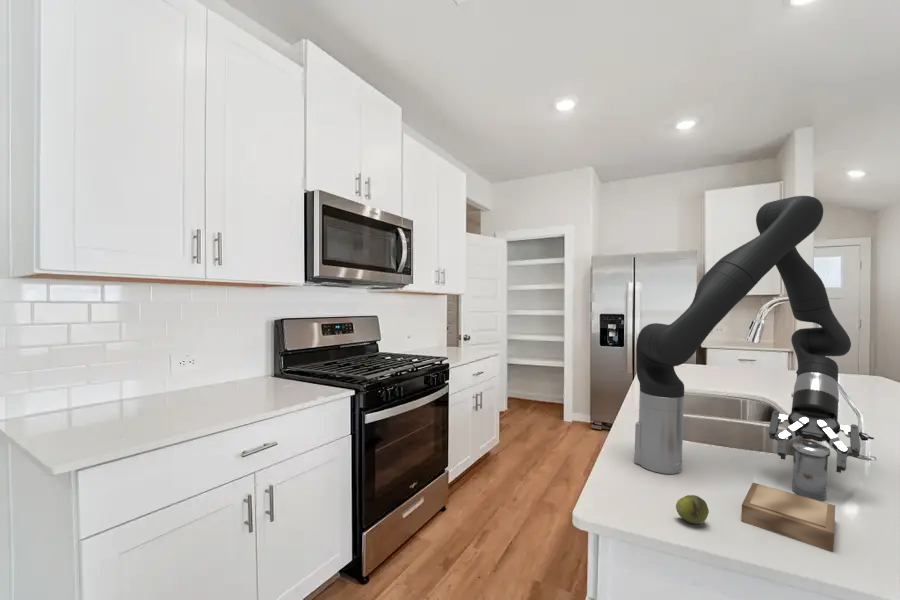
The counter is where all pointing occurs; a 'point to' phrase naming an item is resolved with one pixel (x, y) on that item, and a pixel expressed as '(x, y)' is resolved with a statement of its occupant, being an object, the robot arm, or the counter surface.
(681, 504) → the lime
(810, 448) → the grey lidded canister
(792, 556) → the counter surface
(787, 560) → the counter surface
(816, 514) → the stand
